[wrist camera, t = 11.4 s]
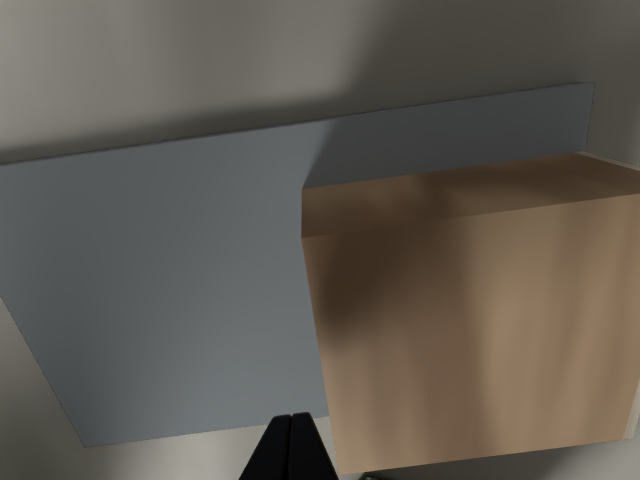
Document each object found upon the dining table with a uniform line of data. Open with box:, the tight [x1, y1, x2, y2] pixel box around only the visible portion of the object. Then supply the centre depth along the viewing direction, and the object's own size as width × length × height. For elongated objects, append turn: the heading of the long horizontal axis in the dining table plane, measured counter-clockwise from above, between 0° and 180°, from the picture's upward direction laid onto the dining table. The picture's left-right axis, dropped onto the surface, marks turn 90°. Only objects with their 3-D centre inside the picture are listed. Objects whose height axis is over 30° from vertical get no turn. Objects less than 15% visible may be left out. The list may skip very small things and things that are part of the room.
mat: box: [0, 83, 595, 448], centre depth 14 cm, size 20×12×1 cm, turn 97°
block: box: [301, 151, 640, 475], centre depth 12 cm, size 4×8×9 cm
